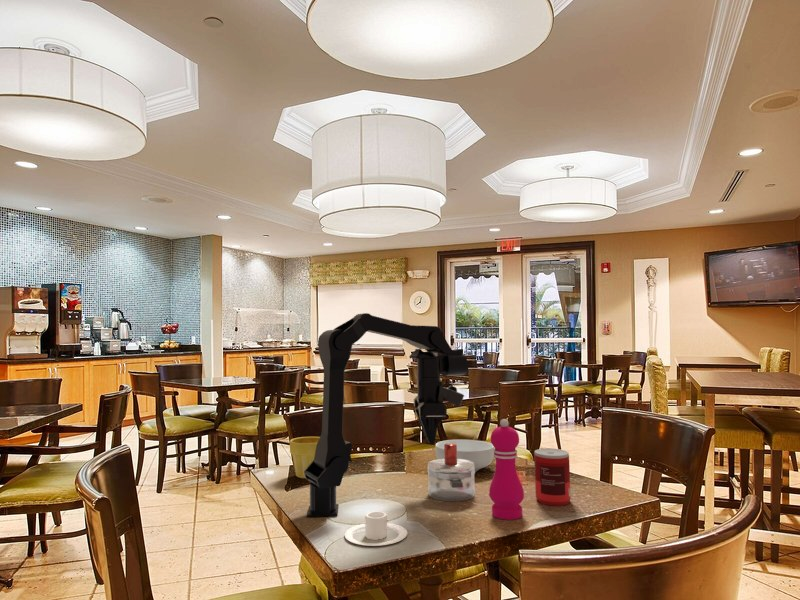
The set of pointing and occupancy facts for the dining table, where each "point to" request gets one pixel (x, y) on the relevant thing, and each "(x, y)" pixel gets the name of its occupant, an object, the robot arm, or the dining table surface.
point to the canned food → (552, 476)
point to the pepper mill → (505, 474)
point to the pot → (451, 486)
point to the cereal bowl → (469, 451)
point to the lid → (450, 462)
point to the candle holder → (376, 529)
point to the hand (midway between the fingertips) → (429, 440)
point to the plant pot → (303, 453)
